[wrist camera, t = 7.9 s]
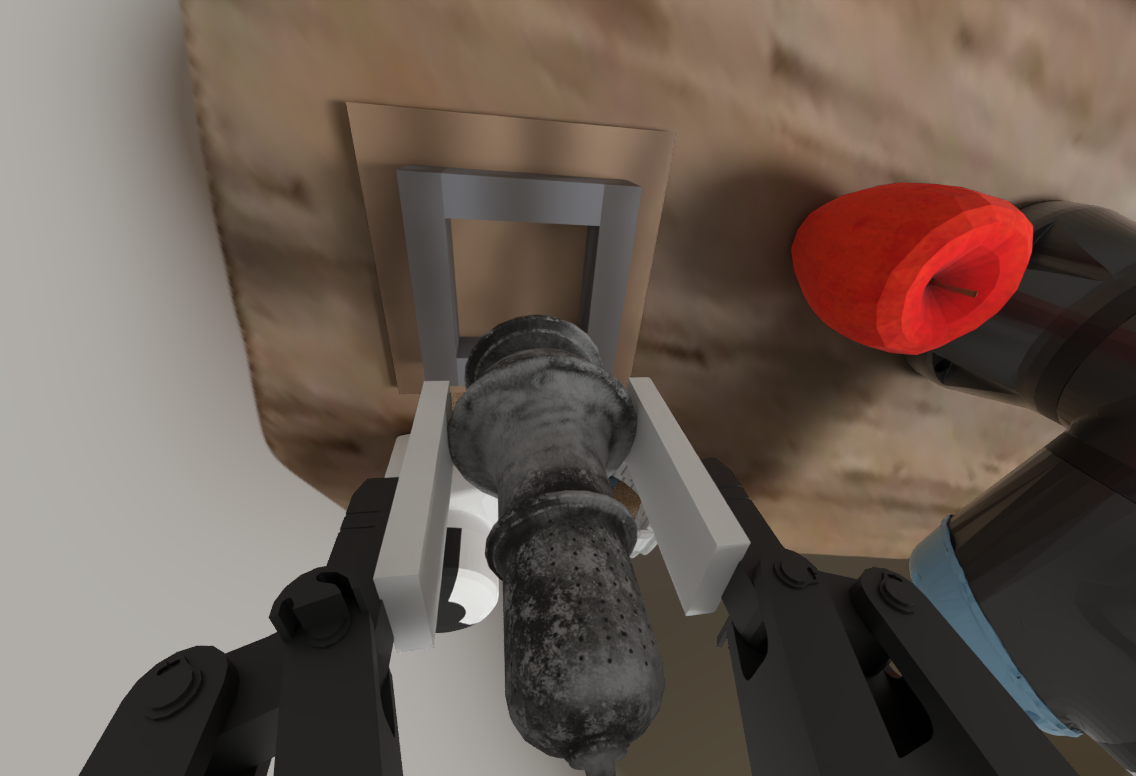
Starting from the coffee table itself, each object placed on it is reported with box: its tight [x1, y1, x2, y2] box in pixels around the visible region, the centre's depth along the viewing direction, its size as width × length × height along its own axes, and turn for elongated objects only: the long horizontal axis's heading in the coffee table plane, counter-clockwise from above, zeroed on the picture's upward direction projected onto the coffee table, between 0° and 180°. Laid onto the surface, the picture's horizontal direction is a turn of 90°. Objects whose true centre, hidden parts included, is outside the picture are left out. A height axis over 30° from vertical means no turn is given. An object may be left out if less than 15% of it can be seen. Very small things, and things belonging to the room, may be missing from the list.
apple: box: [791, 183, 1033, 355], centre depth 24 cm, size 9×9×11 cm
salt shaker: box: [448, 315, 665, 776], centre depth 10 cm, size 6×6×12 cm
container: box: [384, 434, 499, 633], centre depth 29 cm, size 8×8×13 cm
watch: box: [608, 460, 657, 558], centre depth 31 cm, size 6×8×11 cm
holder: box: [346, 102, 677, 394], centre depth 25 cm, size 17×17×4 cm
